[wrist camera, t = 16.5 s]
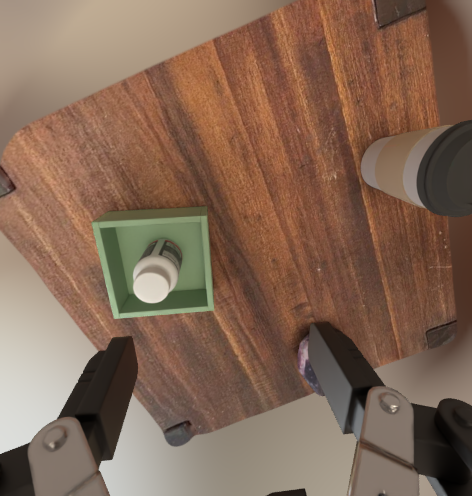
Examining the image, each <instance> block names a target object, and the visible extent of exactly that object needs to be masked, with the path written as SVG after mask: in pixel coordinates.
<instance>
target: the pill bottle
mask: <svg viewBox="0 0 472 496" xmlns="http://www.w3.org/2000/svg"><path fill="white" fill-rule="evenodd" d="M182 258H183V255H182V251H181V248H180V247H179V246H178V245H177V244H176V243H175V242H173V241H172V240H169V239H157V240H154V241H153V242H151V243H150V244H149V245H148V246H147V248H146V250H145V251H144V253H143V254H142V256H141V258H140V260H139V261H138V263H137V264H136V266H135V268H134V272H133V279H134V284H133V290H134V293H135V295H136V296H137V297H138V298H139V299H140V300H142V301H144V302H147V303H157V302H160V301H162V300H163V299H165V298H166V296H167V295H168V293H169V292H170V291H172V290H173V289H174V287H175V286H176V284H177V281H178V277H179V273H180V268H181V264H182Z"/></svg>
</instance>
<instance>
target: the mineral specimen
mask: <svg viewBox="0 0 472 496" xmlns="http://www.w3.org/2000/svg"><path fill="white" fill-rule="evenodd" d="M333 329H334V330H335V332H336V333H337V332H341V331H339V330H337V329H335V328H333ZM308 342H309V334H308V335H307V336H306V337H304V338H303V340H302V341H301V343H300V346H299V352H298V369H299V371H300V373H301V375H302V376H303V377H304V379H305V380H306V381H307V383H308V384H309V385H310V386H311V387H312V389H313V390H314V391H315V392H316V393H317V394H318V395H320V396H325V394H324V392H323V390H322V388H321V385H320V383H319V381H318V379H317V377H316V375H315V373H314V371H313V368H312V366H311V364H310V361H309V358H308Z"/></svg>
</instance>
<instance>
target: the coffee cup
mask: <svg viewBox="0 0 472 496" xmlns="http://www.w3.org/2000/svg"><path fill="white" fill-rule="evenodd" d="M361 174H362V177H363V179H364V181H365V182H366V183H367V184H368V185H370V186H372V187H374V188H377V189H379V190H382V191H383V192H385V193H386V194H388V195H391V196H393V197H396V198H398V199H401V200H403V201H406V202H408V203H411V204H413V205H415V206H418V207H421V208H427V209H428V210H429V211H431V212H433V213H435V214H438V215H442V216H451V217H462V216H467V215H470V214H472V120H468V121H464V122H460V123H458V124H456V125H445V126H440V127H434V128H429V129H423V130H418V131H412V132H407V133H402V134H399V135H396V136H391V137H385V138H381V139H379V140H377V141H375V142H374V143H372V144H371V145H370V146H369V147H368V149H367V150H366V151H365V153H364V155H363V158H362V161H361Z"/></svg>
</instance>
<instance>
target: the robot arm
mask: <svg viewBox="0 0 472 496" xmlns="http://www.w3.org/2000/svg"><path fill="white" fill-rule="evenodd" d="M308 358H309V361H310V364H311V366H312V368H313V371H314V373H315V375H316V377H317V379H318V381H319V383H320V385H321V388H322V390H323V392H324V394H325V396H326V398H327V400H328V403H329V405H330V407H331V409H332V411H333V413H334V415H335V418H336V420H337V422H338V424H339V426H340V428H341V430H342V432H343V434H349V433H354V435H355V437H356V439H357V444H356V449H355V454H354V459H353V465H352V470H351V475H350V481H349V486H348V491H347V496H419V474H421V475H425V476H426V477H427V479H428V481H429V482H430V484H431V486H432V487H433V489H434V491H435V492H436V494H437V496H472V406H471V405H469V404H467V403H465V402H463V401H460V400H457V399H451V398H448V399H443V400H441V401H440V402H439V405H438V407H437V408H433V407H428V406H422V405H417V404H413V403H410V402H409V401H408V400H407V399H406V397H404V396H403V395H402V394H401V393H399V392H398V391H396V390H394V389H392V388H389V387H386V386H385V385H384V383H383V382H382V381H381V379H380V378H379V377H378V375H377V374H376V372H375V371H374V370H373V368H372V367H371V366H370V364H369V363H368V362H367V360H366V359H365V358H364V357H363V355H362V353H361V352H360V351H359V350H358V348H357V347H356V345H355V344H354V343H353V341H352V340H351V339H350V338H349V337H347V336H346V335H344V334H343V333H342V332H337V333H336V332H335V330H334V329H333V327H332V326H331V324H330V323H329V322H317V323H311V325H310V332H309V342H308ZM137 374H138V363H137V357H136V352H135V347H134V342H133V338H132V336H126V337H113V338H112V339H111V341H110V343H109V345H108V347H107V349H106V350H105V351H99V352H98V353H97V354H95V355H94V356H93V357H92V358H91V359H90V360H89V362H88V363H87V365H86V367H85V369H84V371H83V374H81V376H80V378H79V380H78V383H77V384H76V385H75V387H74V389H73V391H72V393H71V395H70V396H69V398H68V400H67V402H66V404H65V406H64V408H63V409H62V411H61V413H60V415H59V417H58V418H57V420H54V421H53V422H51V423H49V424H47V425H46V426H45V427H43V428H42V429H41V430H40V431H39V432H38V433H37V434H36V435H35V436H34V438H33V439H32V441H31V442H30V443H28V444H25V445H23V446H20V447H18V448H15V449H12V450H10V451H7V452H4V453H2V454H0V496H110V494H109V492H108V489H107V487H106V484H105V482H104V480H103V477H102V475H101V472H100V471H99V470H98V469H99V466H100V463H101V461H105V460H112V459H113V455H114V452H115V449H116V446H117V442H118V439H119V435H120V432H121V429H122V426H123V422H124V419H125V416H126V412H127V409H128V406H129V402H130V399H131V396H132V392H133V389H134V386H135V382H136V379H137ZM267 496H307V495H306V491H305V489H297V490H289V491H282V492H274V493H271V494H269V495H267Z"/></svg>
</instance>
